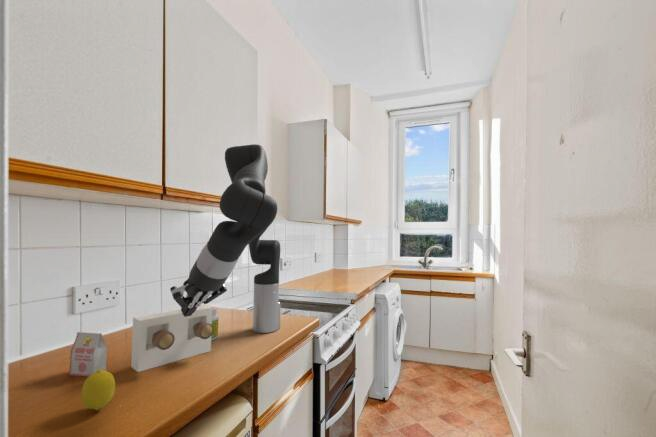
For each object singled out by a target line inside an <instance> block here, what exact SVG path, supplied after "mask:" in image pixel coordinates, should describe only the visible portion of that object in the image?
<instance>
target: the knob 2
mask: <svg viewBox="0 0 656 437" xmlns="http://www.w3.org/2000/svg"><path fill="white" fill-rule="evenodd" d="M193 330H194V334H195V335H196V336H197V337H199V338H201V339H208V338H209V337H210V336H211V335H212V333H213V330H214V328H213V326H212V324H210V323H207V322H205V321H200V322H198V323H196V324H194V326H193Z"/></svg>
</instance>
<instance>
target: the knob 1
mask: <svg viewBox="0 0 656 437" xmlns="http://www.w3.org/2000/svg"><path fill="white" fill-rule="evenodd" d="M174 340H175V337H174V335H173V334H172V333H171V332H169V331H167V330H159V331H157V332H155V333H154V334H153V338H152V343H153V345H154V346H156V347H157V348H159V349H161V350H166V349H168V348H170V347H171V346H172V345H173V343H174Z"/></svg>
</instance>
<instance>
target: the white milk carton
mask: <svg viewBox="0 0 656 437" xmlns="http://www.w3.org/2000/svg"><path fill="white" fill-rule="evenodd" d="M107 351H108V347H107V345H106V343H105V340H104V338H103V334H102V333H98V332H83V331H77V332H76V336H75V339H74V341H73V344H72V346H71V349H70V355H69V356H70V357H69V358H70V359H69V360H70V362H69V376H77V377H79V376H80V377H87V378H88V377H89V376H90V375H91V374H93V373H94V372H97V370H99V369H102V370H104V371H107V355H108V354H107V353H108V352H107Z"/></svg>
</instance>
